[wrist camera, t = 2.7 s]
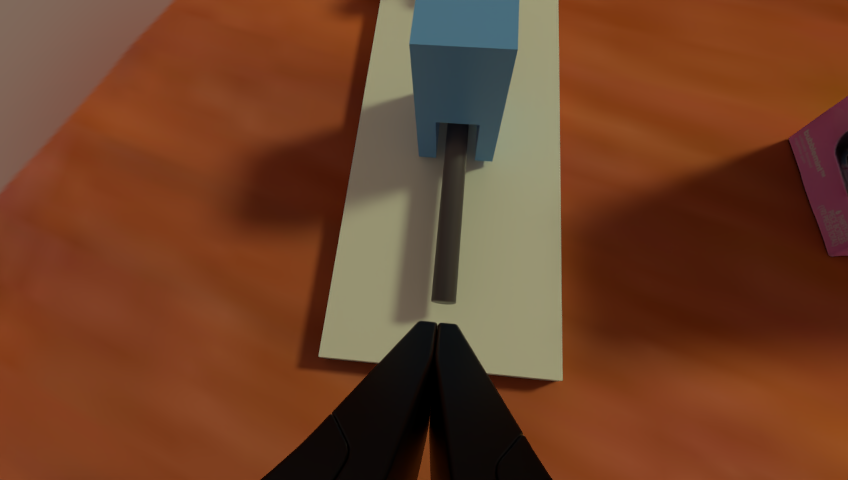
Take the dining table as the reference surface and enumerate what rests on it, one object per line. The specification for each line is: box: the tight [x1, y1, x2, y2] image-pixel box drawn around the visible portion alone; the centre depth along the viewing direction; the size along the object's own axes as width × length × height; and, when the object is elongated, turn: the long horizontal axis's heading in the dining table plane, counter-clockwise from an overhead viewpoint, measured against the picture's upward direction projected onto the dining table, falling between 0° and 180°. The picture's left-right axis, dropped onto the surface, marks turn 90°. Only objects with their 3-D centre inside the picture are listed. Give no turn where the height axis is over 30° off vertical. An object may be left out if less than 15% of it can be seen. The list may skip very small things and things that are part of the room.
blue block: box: [409, 0, 519, 162], centre depth 21 cm, size 5×4×8 cm
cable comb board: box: [318, 0, 563, 381], centre depth 24 cm, size 30×12×6 cm, turn 174°
